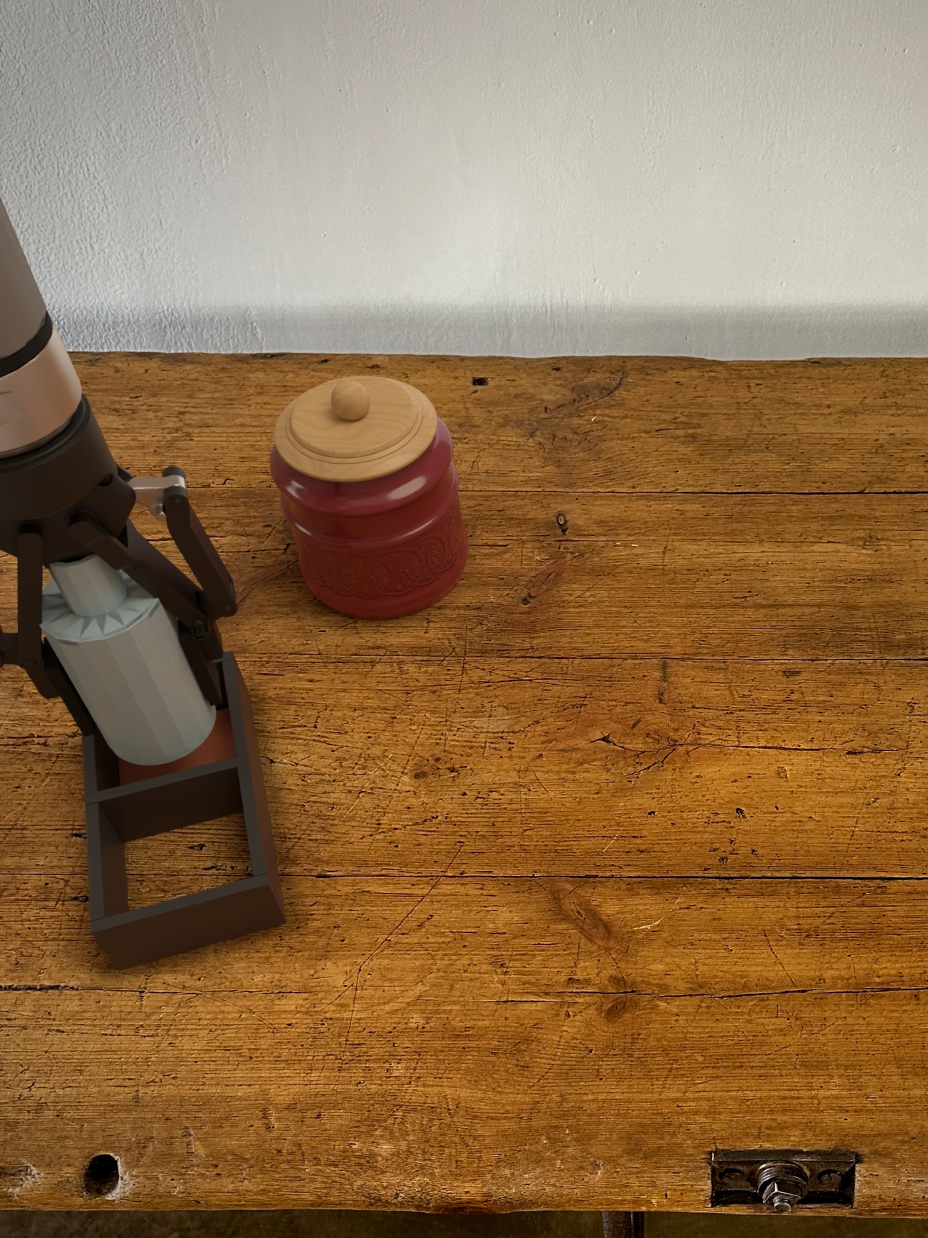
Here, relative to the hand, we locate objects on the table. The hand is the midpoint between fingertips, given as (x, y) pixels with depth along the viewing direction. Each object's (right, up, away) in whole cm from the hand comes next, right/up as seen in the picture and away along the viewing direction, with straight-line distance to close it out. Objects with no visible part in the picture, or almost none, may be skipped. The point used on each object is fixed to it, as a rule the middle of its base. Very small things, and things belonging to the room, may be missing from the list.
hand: (152, 703), depth 77 cm
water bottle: (0, -1, +2) cm, 2 cm away
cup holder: (+1, -8, +3) cm, 9 cm away
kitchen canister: (+11, +10, +19) cm, 24 cm away
